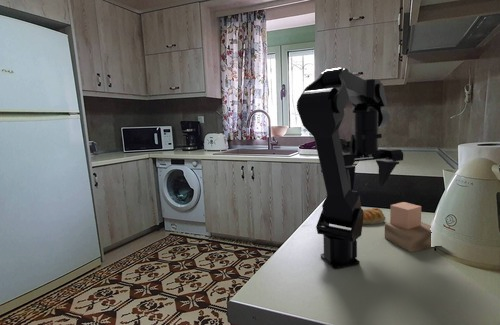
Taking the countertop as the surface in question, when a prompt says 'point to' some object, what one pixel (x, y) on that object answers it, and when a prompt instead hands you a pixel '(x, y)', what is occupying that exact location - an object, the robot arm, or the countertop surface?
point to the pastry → (373, 216)
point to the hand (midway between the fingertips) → (366, 189)
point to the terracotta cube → (405, 215)
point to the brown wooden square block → (409, 236)
